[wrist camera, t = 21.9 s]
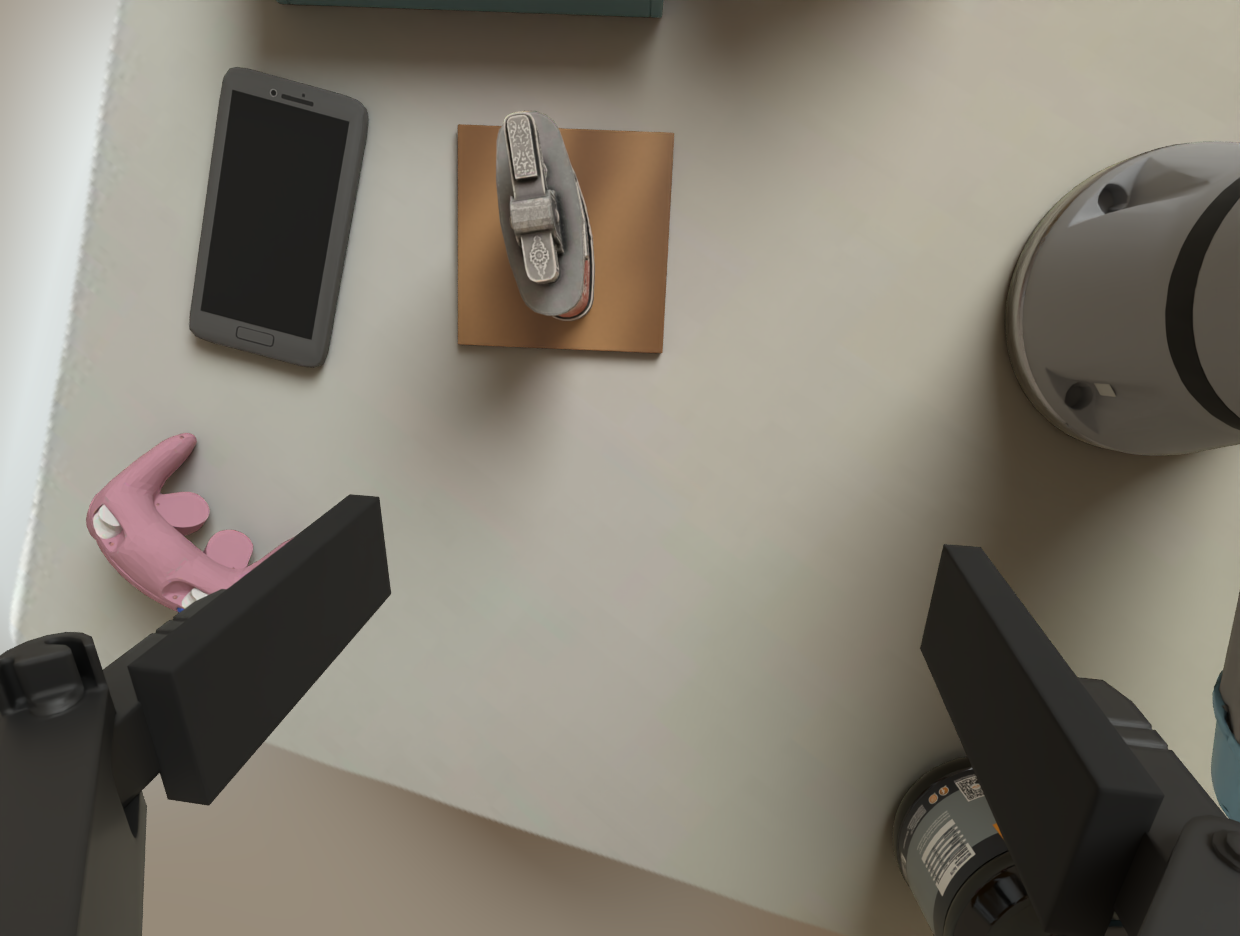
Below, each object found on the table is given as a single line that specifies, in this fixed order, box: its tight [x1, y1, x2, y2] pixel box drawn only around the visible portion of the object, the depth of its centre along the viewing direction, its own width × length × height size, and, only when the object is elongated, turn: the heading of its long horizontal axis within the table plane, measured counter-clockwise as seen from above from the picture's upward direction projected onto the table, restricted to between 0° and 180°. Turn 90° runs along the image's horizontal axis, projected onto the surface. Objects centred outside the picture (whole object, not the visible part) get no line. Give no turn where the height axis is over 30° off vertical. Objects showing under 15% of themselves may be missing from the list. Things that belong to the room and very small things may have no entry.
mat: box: [458, 124, 674, 353], centre depth 35 cm, size 11×11×1 cm
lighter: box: [496, 111, 595, 321], centre depth 30 cm, size 8×3×10 cm, turn 8°
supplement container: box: [892, 757, 1128, 936], centre depth 35 cm, size 10×10×12 cm
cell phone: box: [189, 67, 368, 367], centre depth 35 cm, size 7×14×1 cm, turn 165°
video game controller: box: [86, 433, 293, 613], centre depth 36 cm, size 10×5×7 cm, turn 46°
